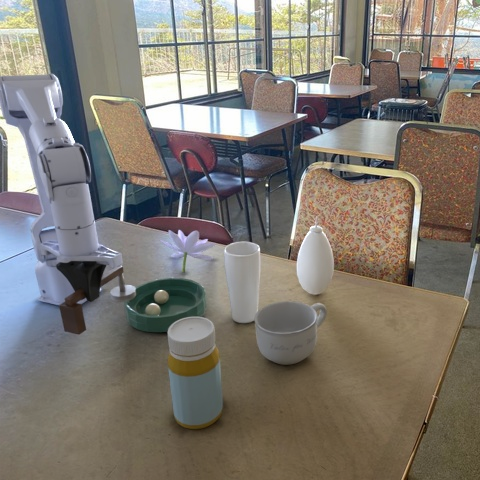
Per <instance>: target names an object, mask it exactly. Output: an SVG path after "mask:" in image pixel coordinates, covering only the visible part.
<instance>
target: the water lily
mask: <svg viewBox="0 0 480 480" xmlns="http://www.w3.org/2000/svg"><path fill="white" fill-rule="evenodd" d="M168 235H169V237H170V239H171V241H172V242H173V243H174V244H175V245H173V244H172V243H170V242H168V241H166V240H163V239H159V241H160V243H162V244H163V245H164V246H166V247H168V248H170V249H171V250H173V251H176V252H174V253H172V254H171V255H170V257H171V258H172V259H182V258H183V259H182V260H183V261H182V262H183V263H182V270H181V273H182V274H185V273H186V263H187V258H188V257H187V256H189V257H192V258H194V259H197V260H204V261H213V260H214V257H212V256H211V255H208V254H203V252H205V251H208V250H210V249H212V248H213V247H215V246H217V243H216V242H208V240H209V239H208V238H204V239H202V240H199V239H200V232H199V231H198V230H193V231H191V232H190V233H189V234H188V235H187V236H186V235H185V234H184V232H183V231H182V230H181V229H178V231H177V233H175V232H174V231H172V230H170V229H168Z"/></svg>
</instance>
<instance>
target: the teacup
mask: <svg viewBox="0 0 480 480" xmlns="http://www.w3.org/2000/svg"><path fill="white" fill-rule="evenodd" d="M327 309H328V308H327V307H326V306H325V305H324V304H323V303H321V302H317V303H313V304H312V305H309V304H307V303H303V302H300V301H295V300H284V301H276V302H272V303H269V304H266V305H265V306H263V307H261V308H260V309H258V312H257V313H256V315H255V317H254V321H253V322H254V325H255V334H256V343H257V347H258V350H259V351H260V353H261V355H262V356H263V357H264V358H266V359H267V360H269V361H271V362H273V363H275V364H278V365H286V366H288V365H294V364H297V363H300V362H301V361H303V360H305V359H306V358H308V357H309V356H311V354H312V353H313V352H314V350H315V348H316V345H317V340H318V329H319V328H320V327H321V325H322V324H324V322H325V320H326V318H327V315H328V310H327ZM318 311H319V314H318V313H317V312H318Z"/></svg>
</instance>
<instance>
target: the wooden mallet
mask: <svg viewBox="0 0 480 480" xmlns="http://www.w3.org/2000/svg"><path fill="white" fill-rule="evenodd" d="M124 276H125V275H124V266H122V265H120V266H118V267H117V268H115V269H113V268H110V269H109V270H108V271H106V272H104V273H103V276H102V279H101V285H100V288H101V287H103V286H104V285H106V284H108V283H110V282H111V281H112V280H114V279H116V278H117V282H118V285H117V286H115V287H113V288H112V289H111V290H110V292H109V295H110V299H111V301H112V302H115V303H124V302H125V301H129V300H131V299H133V298H134V297H135V296H136V290H135V288H136V286H134V285H130V284H125V283H126V282H125V277H124ZM83 298H85V293H84V289H83V287H82V288H80V289H79V290H77V291H76V292H74V293H72V294H71V295H69V296H68V297H66V298H65V302H63V303H62V304H60V305H58V308H59V313H60V318H61V321H62V326H63V331H64V332H66V333H69V334H70V333H71V334H73V335H78V336H80V335H81V334H83V333H84V332H85V331H87V326H86V322H85V317H84V311H83V306H82V305H83V304H79V303H77V302H79V301H80V300H82V299H83Z"/></svg>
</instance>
